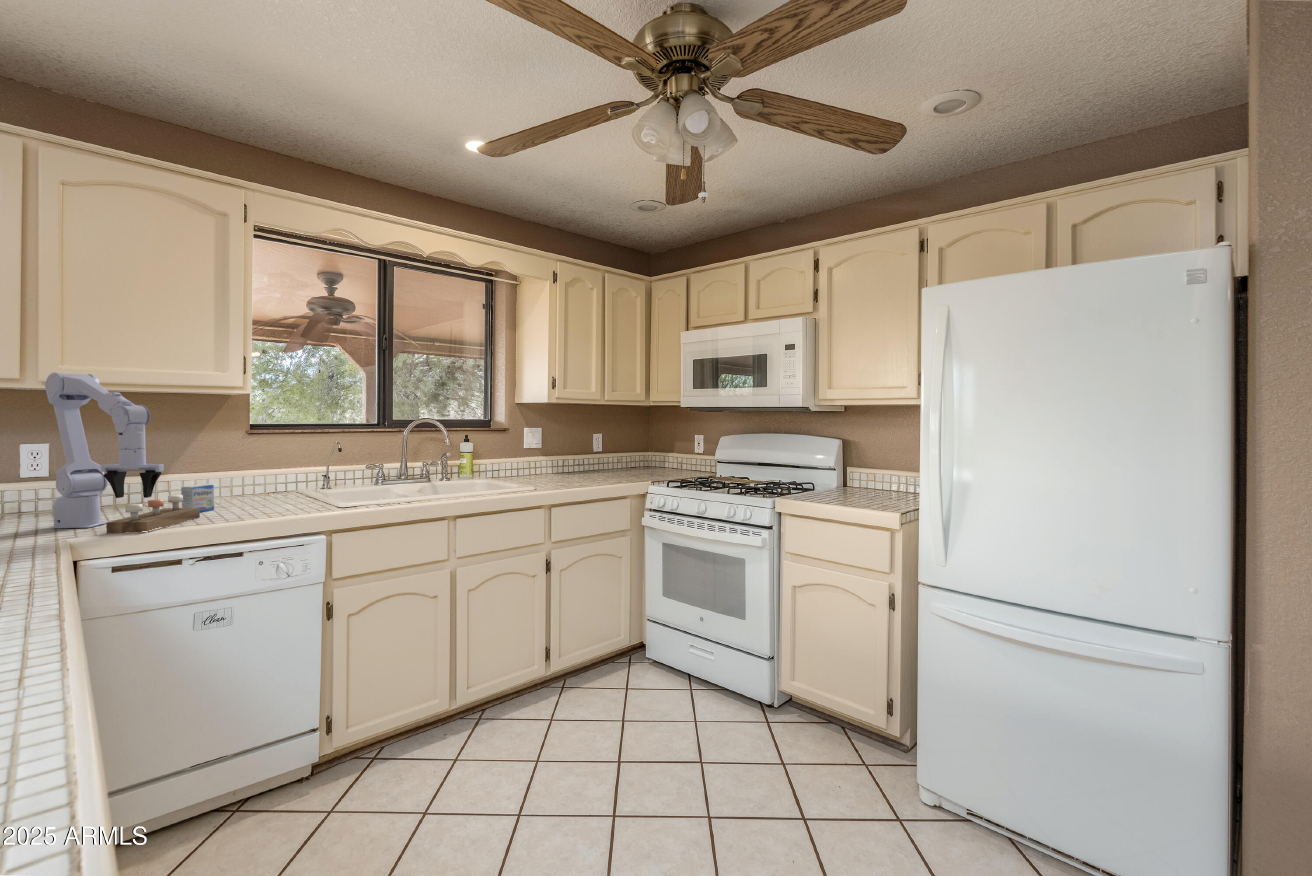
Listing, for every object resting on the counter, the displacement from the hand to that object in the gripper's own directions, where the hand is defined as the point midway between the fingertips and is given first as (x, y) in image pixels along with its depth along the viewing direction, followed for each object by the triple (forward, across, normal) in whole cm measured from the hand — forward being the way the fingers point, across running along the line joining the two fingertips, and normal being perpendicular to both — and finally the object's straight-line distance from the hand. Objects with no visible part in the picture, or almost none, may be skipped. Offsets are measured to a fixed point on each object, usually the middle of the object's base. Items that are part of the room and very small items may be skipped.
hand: (133, 497), depth 169 cm
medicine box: (+10, -2, +33) cm, 34 cm away
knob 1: (+7, 0, 0) cm, 7 cm away
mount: (+9, 0, +9) cm, 13 cm away
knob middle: (+7, 0, +9) cm, 11 cm away
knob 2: (+7, 0, +18) cm, 19 cm away
